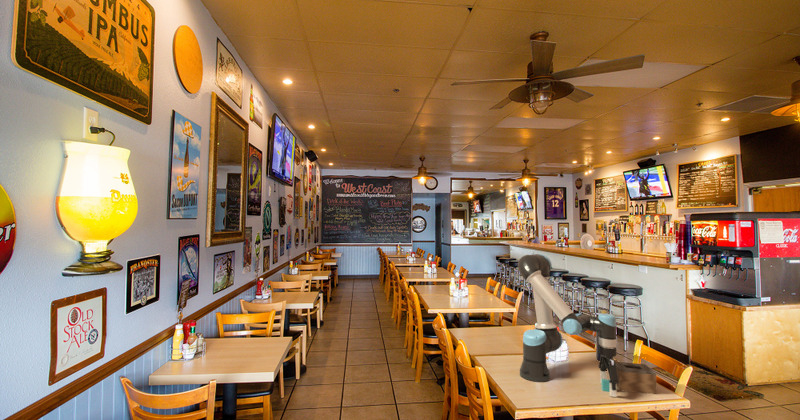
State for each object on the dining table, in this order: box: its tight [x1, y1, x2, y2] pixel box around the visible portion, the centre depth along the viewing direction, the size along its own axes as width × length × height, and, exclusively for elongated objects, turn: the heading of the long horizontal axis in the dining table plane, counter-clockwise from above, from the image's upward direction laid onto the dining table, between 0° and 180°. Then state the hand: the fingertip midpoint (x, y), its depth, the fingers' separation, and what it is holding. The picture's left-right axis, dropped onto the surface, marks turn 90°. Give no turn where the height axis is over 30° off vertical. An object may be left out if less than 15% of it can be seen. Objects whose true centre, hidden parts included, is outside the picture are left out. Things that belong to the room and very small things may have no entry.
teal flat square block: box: [600, 378, 610, 393], centre depth 179 cm, size 5×2×5 cm, turn 77°
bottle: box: [595, 310, 614, 362], centre depth 222 cm, size 9×9×30 cm
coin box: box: [615, 361, 657, 395], centre depth 184 cm, size 16×12×10 cm
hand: (608, 390), depth 179 cm, fingers open, 13 cm apart
